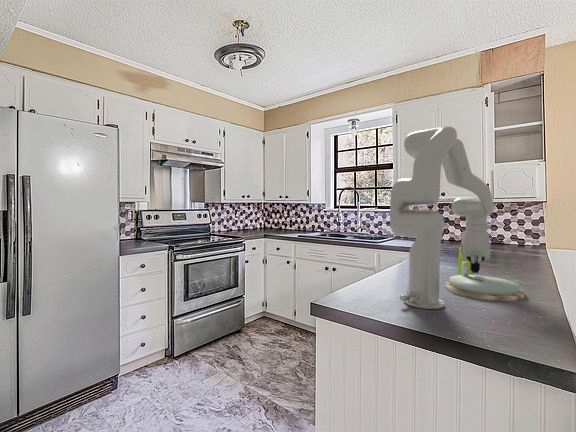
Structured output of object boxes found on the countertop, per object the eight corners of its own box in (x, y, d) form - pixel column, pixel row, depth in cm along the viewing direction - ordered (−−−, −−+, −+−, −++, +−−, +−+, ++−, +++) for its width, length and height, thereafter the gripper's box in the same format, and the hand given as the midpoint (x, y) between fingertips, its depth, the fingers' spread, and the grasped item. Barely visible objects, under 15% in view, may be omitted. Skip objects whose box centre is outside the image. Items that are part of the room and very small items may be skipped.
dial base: (501, 306, 107) (502, 300, 107) (431, 288, 129) (431, 283, 129) (537, 294, 120) (537, 290, 120) (468, 280, 143) (468, 276, 143)
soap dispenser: (468, 274, 153) (469, 232, 152) (475, 278, 146) (476, 234, 145) (455, 274, 154) (456, 232, 153) (461, 277, 147) (462, 233, 146)
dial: (535, 293, 115) (536, 272, 115) (478, 296, 112) (478, 274, 111) (486, 278, 138) (487, 260, 138) (437, 280, 134) (437, 262, 134)
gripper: (493, 227, 135) (491, 271, 136) (453, 227, 139) (452, 269, 139) (500, 229, 128) (498, 275, 129) (458, 228, 131) (457, 273, 132)
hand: (474, 272), depth 134 cm, fingers closed
